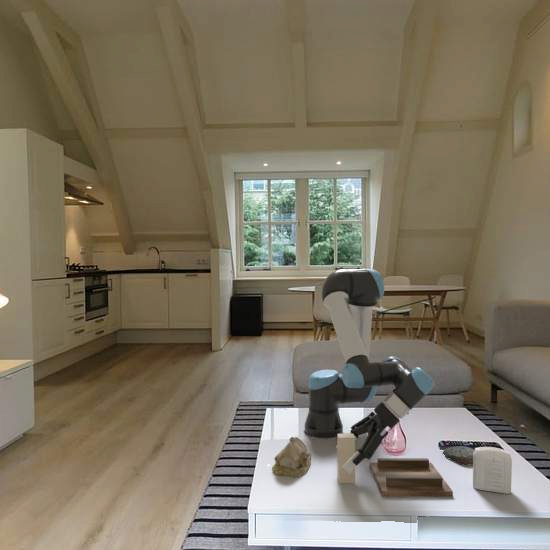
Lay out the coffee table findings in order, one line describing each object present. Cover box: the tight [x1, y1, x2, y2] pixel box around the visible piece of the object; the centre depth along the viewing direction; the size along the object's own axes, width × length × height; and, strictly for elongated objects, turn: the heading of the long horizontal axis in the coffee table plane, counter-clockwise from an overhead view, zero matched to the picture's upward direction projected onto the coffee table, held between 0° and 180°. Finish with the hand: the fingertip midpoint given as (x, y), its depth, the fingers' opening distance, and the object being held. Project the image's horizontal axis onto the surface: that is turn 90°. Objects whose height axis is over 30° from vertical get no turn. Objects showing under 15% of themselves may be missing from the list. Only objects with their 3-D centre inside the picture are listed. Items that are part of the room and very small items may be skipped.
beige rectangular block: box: [336, 433, 356, 484], centre depth 134 cm, size 3×5×14 cm, turn 89°
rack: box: [369, 457, 454, 497], centre depth 134 cm, size 18×20×4 cm
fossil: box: [442, 445, 475, 466], centre depth 150 cm, size 10×13×4 cm
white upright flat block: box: [472, 446, 513, 495], centre depth 129 cm, size 10×4×12 cm, turn 72°
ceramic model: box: [272, 436, 312, 478], centre depth 143 cm, size 14×11×10 cm
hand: (342, 459), depth 134 cm, fingers open, 13 cm apart
